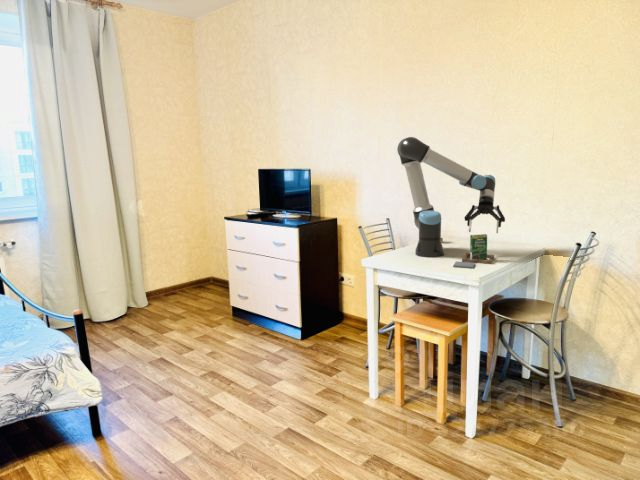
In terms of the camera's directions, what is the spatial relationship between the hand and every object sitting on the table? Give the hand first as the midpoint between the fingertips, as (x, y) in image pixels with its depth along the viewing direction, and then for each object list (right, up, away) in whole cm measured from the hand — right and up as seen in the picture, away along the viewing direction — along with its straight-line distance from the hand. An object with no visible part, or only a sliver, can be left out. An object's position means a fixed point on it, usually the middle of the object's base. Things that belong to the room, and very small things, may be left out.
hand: (483, 231), depth 231 cm
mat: (-15, -17, -16) cm, 28 cm away
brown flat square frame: (-4, -15, -5) cm, 16 cm away
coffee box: (-4, -15, -5) cm, 16 cm away
